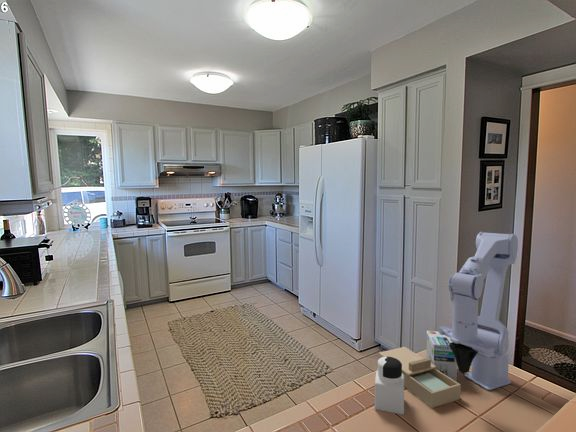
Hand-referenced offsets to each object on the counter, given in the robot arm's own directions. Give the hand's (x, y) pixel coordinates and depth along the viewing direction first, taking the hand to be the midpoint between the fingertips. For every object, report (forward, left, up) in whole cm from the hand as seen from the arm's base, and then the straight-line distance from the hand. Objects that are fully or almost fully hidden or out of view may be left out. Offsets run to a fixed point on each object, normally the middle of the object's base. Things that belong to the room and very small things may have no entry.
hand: (463, 371), depth 83 cm
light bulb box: (-8, -15, -10) cm, 20 cm away
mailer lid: (+3, -18, -5) cm, 19 cm away
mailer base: (+3, -9, -9) cm, 13 cm away
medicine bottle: (+17, -8, -10) cm, 21 cm away
